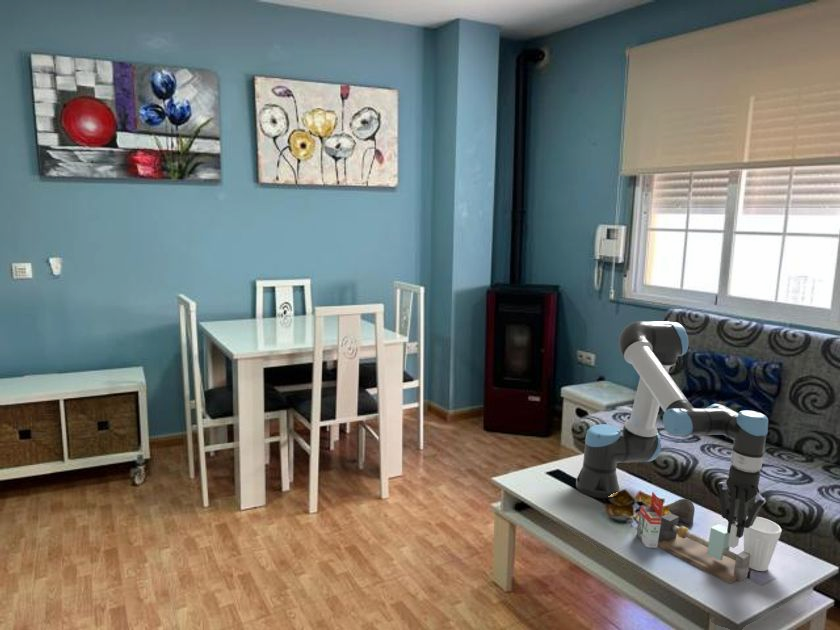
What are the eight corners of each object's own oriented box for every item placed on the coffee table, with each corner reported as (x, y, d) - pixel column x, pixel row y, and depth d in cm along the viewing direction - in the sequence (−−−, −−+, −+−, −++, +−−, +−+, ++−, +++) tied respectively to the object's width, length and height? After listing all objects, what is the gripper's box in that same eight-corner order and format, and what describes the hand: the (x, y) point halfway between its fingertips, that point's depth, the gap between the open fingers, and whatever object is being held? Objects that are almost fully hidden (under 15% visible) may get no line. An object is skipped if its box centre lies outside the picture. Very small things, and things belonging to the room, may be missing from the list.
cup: (730, 555, 183) (736, 514, 181) (763, 557, 183) (770, 517, 180) (746, 574, 173) (753, 532, 171) (782, 577, 173) (789, 534, 171)
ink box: (646, 548, 184) (651, 503, 182) (636, 534, 192) (641, 490, 190) (658, 548, 184) (664, 503, 182) (647, 534, 192) (653, 491, 190)
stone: (672, 536, 200) (699, 523, 195) (657, 511, 203) (683, 498, 198) (680, 529, 208) (706, 516, 203) (665, 505, 211) (690, 492, 206)
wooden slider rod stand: (652, 543, 187) (655, 519, 186) (672, 533, 194) (675, 510, 192) (733, 585, 167) (738, 558, 166) (752, 573, 174) (757, 547, 173)
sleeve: (707, 554, 177) (711, 527, 175) (714, 549, 179) (718, 523, 178) (720, 560, 173) (724, 533, 172) (728, 556, 176) (732, 529, 175)
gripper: (715, 461, 171) (704, 538, 175) (763, 479, 161) (750, 560, 165) (728, 456, 176) (717, 531, 180) (776, 473, 166) (763, 552, 170)
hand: (733, 545), depth 173 cm, fingers closed
